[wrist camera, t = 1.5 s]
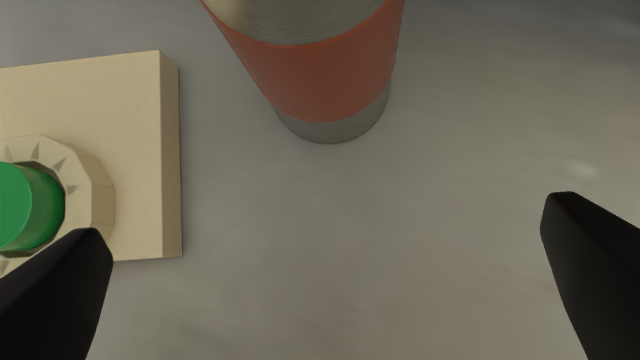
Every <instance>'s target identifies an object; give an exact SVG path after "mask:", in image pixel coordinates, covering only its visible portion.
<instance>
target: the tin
mask: <svg viewBox="0 0 640 360" xmlns="http://www.w3.org/2000/svg"><path fill="white" fill-rule="evenodd" d="M200 1H201V3H202V4H203V6H204V7H205V9H206V10H207V12H208V13H209V15H210V16H211V18H212V19H213V21H214V22H215V24H216V25H217V27H218V28H219V30H220V31H221V33H222V34H223V36H224V37H225V39H226V40H227V42H228V43H229V45H230V46H231V48H232V49H233V50H234V52H235V53H236V55H237V56H238V58H239V59H240V61H241V62H242V64H243V65H244V67H245V68H246V70H247V71H248V73H249V74H250V76H251V77H252V79H253V80H254V82H255V83H256V85H257V86H258V88H259V89H260V91H261V92H262V93H263V95H264V96H265V97H266V98H267V100H268V101H269V102H270V103H271V105H272V106H273V108H274V109H275V111H276V112H277V114H278V115H279V117H280V118H281V120H282V121H283V122H284V124H285V125H286V126H287V127H288V128H289V129H290V130H291V131H292V132H294V133H295V134H297V135H298V136H300V137H302V138H304V139H306V140H309V141H312V142H316V143H323V144H335V143H342V142H345V141H349V140H351V139H354V138H356V137H358V136H360V135H361V134H363V133H364V132H366V131H367V130H368V129H369V128H371V127H372V126H373V125H374V123H375V122H376V121H377V120H378V118H379V117H380V116H381V114H382V112H383V110H384V108H385V106H386V103H387V99H388V95H389V89H390V82H391V76H392V71H393V67H394V63H395V58H396V52H397V45H398V39H399V33H400V26H401V20H402V14H403V7H404V1H405V0H200Z"/></svg>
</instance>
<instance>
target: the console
mask: <svg viewBox="0 0 640 360" xmlns="http://www.w3.org/2000/svg"><path fill="white" fill-rule="evenodd" d="M0 161H2V162H8V163H12V164H16V165H20V166H25V167H29V168H33V169H37V170H41V171H44V172H46V173H47V174H49V175H50V176H52V177H53V178H54V179H55V180H56V181H57V183H58V184H59V186H60V188H61V190H62V192H63V196H64V202H65V208H64V215H63V219H62V222H61V224H60V226H59V228H58V230H57V231H56V233H55V234H54V235H53V236H52V237H51V238H50V239H49V240H48V241H47V242H46V243H44V244H43V245H41V246H39V247H37V248H35V249H32V250H27V251H0V278H2V277H3V276H5V275H6V274H8V273H9V272H11V271H12V270H14V269H15V268H17V267H18V266H20V265H21V264H23V263H24V262H26V261H27V260H29V259H30V258H32V257H33V256H35V255H36V254H37V253H39V252H40V251H42V250H43V249H45V248H46V247H48V246H49V245H51V244H52V243H54V242H55V241H57V240H58V239H60V238H61V237H63V236H64V235H66V234H67V233H69V232H70V231H72V230H73V229H76V228H86V227H94V228H96V229H97V230H99V232H100V233H101V235H102V237H103V239H104V240H105V242H106V244H107V246H108V247H109V249H110V251H111V253H112V255H113V261H127V260H141V259H154V258H168V257H181V256H182V225H181V181H180V136H179V91H178V67H177V66H176V65H175V64H174V63H173V62H172V61H171V60H170V59H169V58H168V57H167V56H165V55H164V54H163V53H162V52H161V51H160V50H151V51H143V52H135V53H126V54H118V55H109V56H101V57H92V58H84V59H75V60H67V61H58V62H50V63H41V64H33V65H24V66H16V67H7V68H0Z"/></svg>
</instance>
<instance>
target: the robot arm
mask: <svg viewBox="0 0 640 360" xmlns="http://www.w3.org/2000/svg"><path fill="white" fill-rule="evenodd" d="M540 235H541V239H542V242H543V245H544V248H545V251H546V254H547V257H548V260H549V263H550V266H551V269H552V272H553V275H554V278H555V281H556V284H557V287H558V290H559V293H560V296H561V299H562V302H563V305H564V308H565V310H566V312H567V314H568V317H569V319H570V321H571V323H572V326H573V328H574V330H575V332H576V334H577V336H578V338H579V340H580V343H581V345H582V347H583V349H584V351H585V353H586V355H587V358H588V360H640V229H639V228H637V227H635V226H634V225H632V224H630V223H628V222H627V221H625V220H623V219H621V218H620V217H618V216H616V215H614V214H612V213H611V212H609V211H607V210H605V209H604V208H602V207H600V206H598V205H596V204H595V203H593V202H591V201H589V200H588V199H586V198H584V197H582V196H581V195H579V194H577V193H575V192H572V191H566V192H553V193H550V194H549V195H548V196H547V199H546V202H545V206H544V210H543V215H542V219H541V223H540ZM112 269H113V255H112V253H111V251H110V249H109V247H108V246H107V244H106V242H105V240H104V239H103V237H102V235H101V233H100V232H99V230H97V229H96V228H94V227H86V228H76V229H73V230H72V231H70V232H69V233H67V234H66V235H64V236H63V237H61V238H60V239H58V240H57V241H55V242H54V243H52V244H51V245H49V246H48V247H46V248H45V249H43V250H42V251H40V252H39V253H37V254H36V255H35V256H33V257H32V258H30V259H29V260H27V261H26V262H24V263H23V264H21V265H20V266H18V267H17V268H15V269H14V270H12V271H11V272H9V273H8V274H6V275H5V276H3V277H2V278H0V360H85V359H86V357H87V354H88V351H89V349H90V346H91V343H92V341H93V338H94V335H95V332H96V328H97V325H98V322H99V318H100V314H101V311H102V307H103V303H104V299H105V295H106V291H107V288H108V284H109V280H110V276H111V272H112Z"/></svg>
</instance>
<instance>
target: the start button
mask: <svg viewBox="0 0 640 360" xmlns="http://www.w3.org/2000/svg"><path fill="white" fill-rule="evenodd" d="M64 208H65V202H64V196H63V192H62V190H61V188H60V186H59V184H58V183H57V181H56V180H55V179H54V178H53V177H52V176H50V175H49V174H47V173H46V172H44V171H41V170H37V169H33V168H29V167H25V166H20V165H16V164H12V163H8V162H2V161H0V251H27V250H32V249H35V248H37V247H39V246H41V245H43V244H44V243H46V242H47V241H48V240H49V239H50V238H51V237H52V236H53V235H54V234H55V233H56V231H57V230H58V228H59V226H60V224H61V222H62V219H63V215H64Z"/></svg>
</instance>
